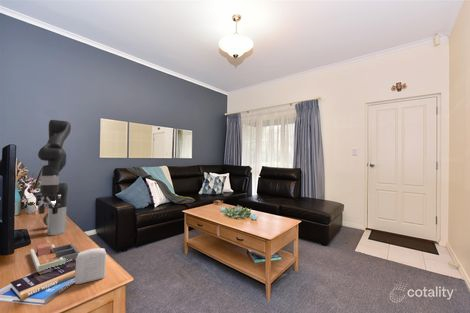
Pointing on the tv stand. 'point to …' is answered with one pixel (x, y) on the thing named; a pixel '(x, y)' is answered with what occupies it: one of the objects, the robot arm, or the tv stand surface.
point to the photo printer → (90, 265)
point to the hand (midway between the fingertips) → (48, 213)
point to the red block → (43, 249)
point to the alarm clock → (45, 220)
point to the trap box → (61, 252)
